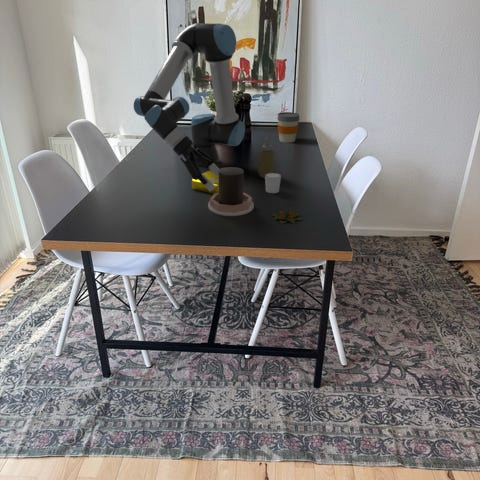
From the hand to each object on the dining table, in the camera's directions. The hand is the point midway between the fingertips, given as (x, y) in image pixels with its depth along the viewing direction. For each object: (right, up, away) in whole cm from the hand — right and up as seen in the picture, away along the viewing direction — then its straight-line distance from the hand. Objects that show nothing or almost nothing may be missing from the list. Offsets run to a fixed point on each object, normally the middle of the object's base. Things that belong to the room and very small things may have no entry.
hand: (217, 183), depth 176 cm
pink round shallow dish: (+5, -9, +4) cm, 11 cm away
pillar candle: (+5, -8, +4) cm, 10 cm away
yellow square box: (-3, +1, +24) cm, 24 cm away
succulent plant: (+26, -14, -5) cm, 30 cm away
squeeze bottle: (+21, +7, +35) cm, 41 cm away
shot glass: (+22, -1, +19) cm, 30 cm away
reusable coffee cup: (+36, +36, +90) cm, 104 cm away
